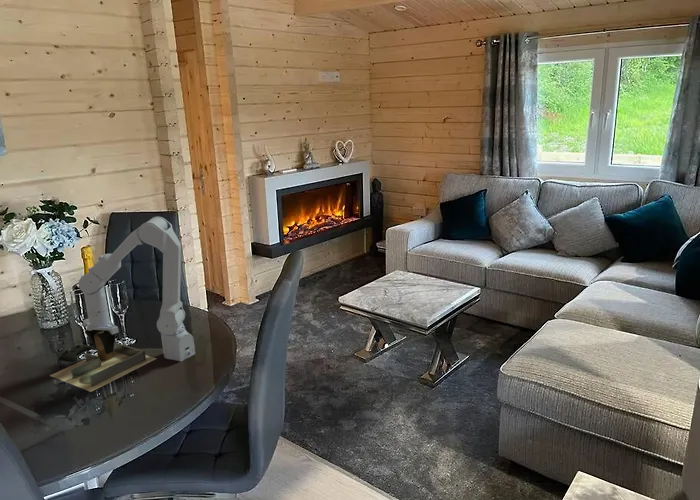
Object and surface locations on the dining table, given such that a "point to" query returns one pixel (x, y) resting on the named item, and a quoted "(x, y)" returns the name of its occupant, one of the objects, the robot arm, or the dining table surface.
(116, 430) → the dining table surface
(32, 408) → the dining table surface
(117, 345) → the channel walls
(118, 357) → the board
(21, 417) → the dining table surface
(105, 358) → the peg
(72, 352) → the game controller
